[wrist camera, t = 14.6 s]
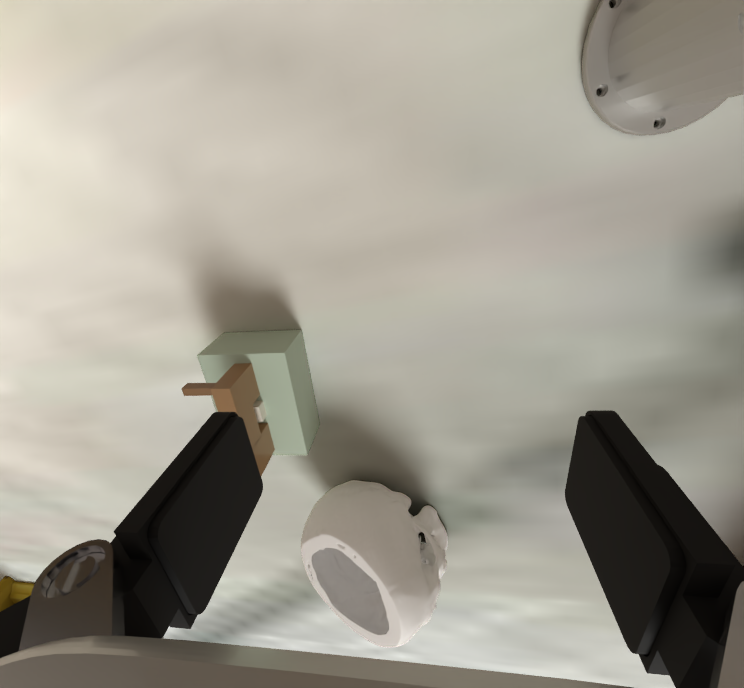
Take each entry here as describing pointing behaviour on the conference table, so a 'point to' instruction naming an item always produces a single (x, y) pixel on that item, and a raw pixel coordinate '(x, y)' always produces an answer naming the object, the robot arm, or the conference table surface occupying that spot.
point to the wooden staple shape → (239, 406)
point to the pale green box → (271, 382)
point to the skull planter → (375, 560)
